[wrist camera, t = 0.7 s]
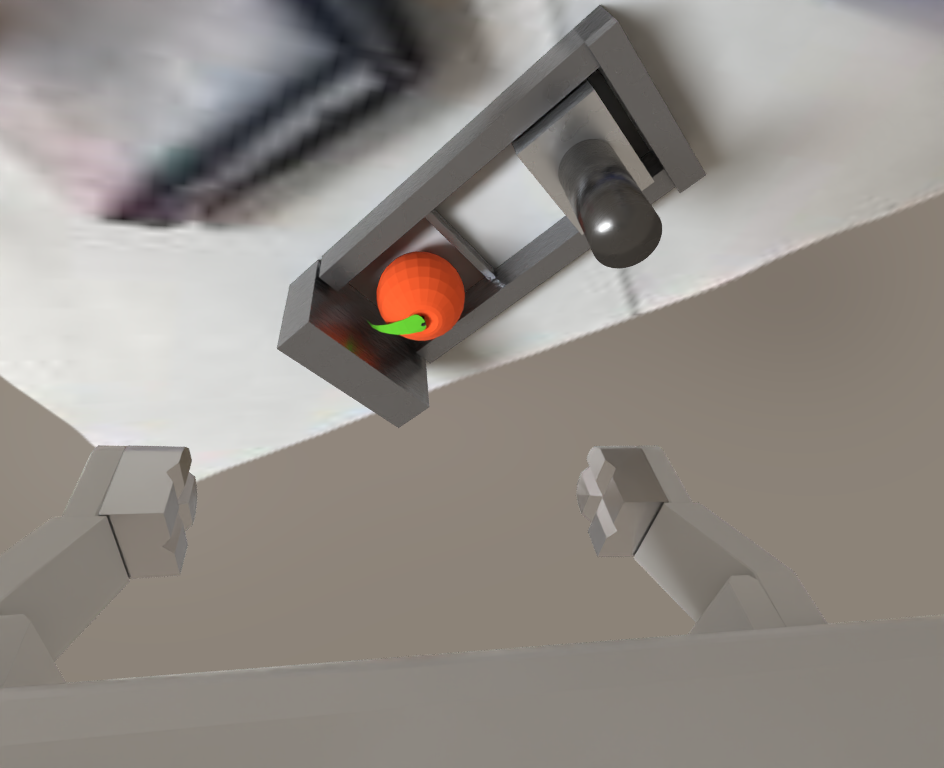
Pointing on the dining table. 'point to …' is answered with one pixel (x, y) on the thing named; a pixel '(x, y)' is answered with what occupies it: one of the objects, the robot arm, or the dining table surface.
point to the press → (346, 310)
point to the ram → (593, 177)
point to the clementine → (419, 296)
